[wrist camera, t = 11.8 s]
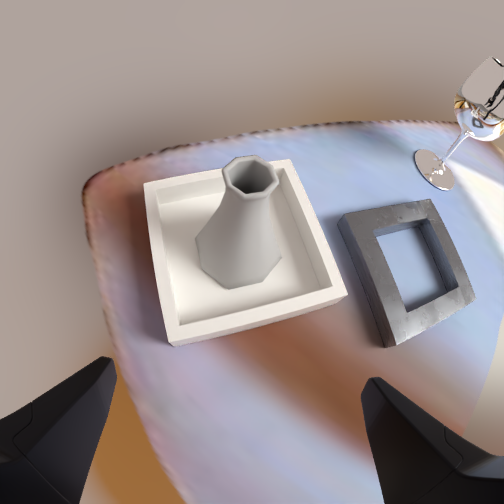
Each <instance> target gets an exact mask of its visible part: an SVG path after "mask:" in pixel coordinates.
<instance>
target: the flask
mask: <svg viewBox="0 0 504 504" xmlns="http://www.w3.org/2000/svg"><path fill="white" fill-rule="evenodd" d="M221 172H222V176H223V179H224V183H225V186H226V188H225V193H224V195H223V198H222V201H221V203H220V206H219V207H218V209H217V210H216V211H215V213H214V214H213V215H212V217H211V218H210V220H209V221H208V222H207V224H206V225H205V226H204V227H203V229H202V230H201V231H200V232H199V233H198V235H197V236H196V238H195V241H196V245H197V250H198V254H199V259H200V263H201V268H202V269H203V270H204V271H205V272H207V273H208V274H209V275H210V276H212V277H213V278H214V279H215V280H217V281H218V282H219V283H221V284H222V285H223V286H224V287H226V288H227V289H228V290H230V289H235V288H239V287H243V286H247V285H252V284H256V283H260V282H263V281H264V279H265V278H266V277H267V276H268V274H269V273H270V272H271V271H272V269H273V268H274V267H275V266H276V264H277V263H278V262H279V261H280V259H281V258H282V256H281V252H280V249H279V246H278V243H277V241H276V238H275V234H274V231H273V227H272V224H271V220H270V217H269V198H270V194H271V192H272V191H273V190H274V189H275V188H276V187H277V186H278V185H279V179H278V177H277V175H276V172H275V170H274V167H273V165H271V164H270V163H268V162H266V161H265V160H263V159H262V158H260V157H258V156H257V155H251V156H243V157H236V158H234V159H233V160H232V161H231V162H230V163H228V164H227V165H226V166H225V167H224V168H223V169H222V171H221Z"/></svg>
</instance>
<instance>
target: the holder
mask: <svg viewBox="0 0 504 504" xmlns="http://www.w3.org/2000/svg"><path fill="white" fill-rule="evenodd" d="M337 225H338V228H339V230H340V232H341V234H342V237H343V239H344V241H345V244H346V246H347V248H348V251H349V253H350V255H351V258H352V260H353V263H354V265H355V268H356V270H357V272H358V275H359V277H360V280H361V283H362V285H363V288H364V290H365V293H366V296H367V298H368V301H369V304H370V306H371V309H372V312H373V314H374V317H375V320H376V323H377V326H378V329H379V331H380V334H381V337H382V340H383V343H384V346H385V348H388V347H391V346H395V345H398V344H400V343H402V342H404V341H406V340H408V339H410V338H411V337H413V336H415V335H417V334H419V333H421V332H423V331H425V330H426V329H428V328H430V327H432V326H434V325H435V324H437V323H439V322H440V321H442V320H444V319H446V318H447V317H449V316H451V315H452V314H454V313H456V312H457V311H459V310H460V309H462V308H464V307H465V306H467V305H468V304H470V303H471V302H473V301H474V300H476V297H475V294H474V291H473V289H472V286H471V283H470V281H469V278H468V276H467V273H466V271H465V269H464V266H463V264H462V261H461V259H460V257H459V255H458V252H457V250H456V248H455V246H454V244H453V242H452V239H451V237H450V235H449V233H448V231H447V229H446V227H445V225H444V223H443V221H442V219H441V217H440V216H439V214H438V212H437V210H436V208H435V206H434V204H433V203H432V201H431V199H426V200H420V201H414V202H409V203H403V204H397V205H391V206H386V207H380V208H374V209H369V210H363V211H358V212H352V213H347V214H344V215H343V217H342V218H341V219H340V221H339V222H338V224H337ZM417 226H419V228H420V230H421V232H422V234H423V236H424V238H425V240H426V242H427V245H428V247H429V249H430V251H431V253H432V255H433V258H434V260H435V262H436V265H437V267H438V269H439V272H440V274H441V276H442V279H443V281H444V284H445V286H446V289H447V292H448V293H446V294H444V295H443V296H441V297H439V298H437V299H435V300H433V301H431V302H429V303H427V304H425V305H423V306H421V307H418V308H416V309H414V310H412V311H410V312H408V313H407V312H406V309H405V306H404V304H403V301H402V298H401V296H400V293H399V291H398V288H397V286H396V283H395V281H394V278H393V276H392V273H391V271H390V269H389V266H388V264H387V261H386V259H385V257H384V255H383V252H382V250H381V248H380V246H379V243H378V241H377V239H376V237H377V236H381V235H385V234H389V233H393V232H397V231H401V230H405V229H409V228H413V227H417Z"/></svg>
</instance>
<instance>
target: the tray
mask: <svg viewBox="0 0 504 504" xmlns="http://www.w3.org/2000/svg"><path fill="white" fill-rule="evenodd" d="M268 163H270V164H271V165H273V167H274V170H275V172H276V175H277V177H278V179H279V185H278V186H277V187H276V188H275V189H274V190H273V191H272V192H271V194H270V198H269V217H270V220H271V224H272V227H273V231H274V234H275V238H276V241H277V243H278V246H279V249H280V252H281V256H282V258H281V259H280V261H279V262H278V263H277V264H276V266H275V267H274V268H273V269H272V271H271V272H270V273H269V274H268V276H267V277H266V278H265V279H264V281H263V282H260V283H256V284H252V285H247V286H243V287H239V288H235V289H230V290H228V289H227V288H226V287H224V286H223V285H222V284H221V283H219V282H218V281H217V280H215V279H214V278H213V277H212V276H210V275H209V274H208V273H207V272H205V271H204V270H203V269H202V268H201V263H200V259H199V254H198V250H197V245H196V241H195V238H196V236H197V235H198V233H199V232H200V231H201V230H202V229H203V227H204V226H205V225H206V224H207V222H208V221H209V220H210V218H211V217H212V215H213V214H214V213H215V211H216V210H217V209H218V207H219V206H220V203H221V201H222V198H223V195H224V193H225V188H226V186H225V183H224V179H223V176H222V172H221V171H222V169H223V168H221V169H215V170H209V171H203V172H198V173H192V174H187V175H182V176H177V177H172V178H167V179H162V180H157V181H153V182H148V183H144V193H145V203H146V212H147V221H148V229H149V236H150V243H151V250H152V257H153V263H154V270H155V276H156V281H157V287H158V293H159V298H160V303H161V308H162V313H163V318H164V323H165V328H166V332H167V337H168V341H169V343H170V344H172V345H173V346H174V347H177V346H181V345H186V344H191V343H195V342H199V341H204V340H208V339H212V338H217V337H221V336H225V335H229V334H233V333H237V332H241V331H245V330H248V329H252V328H256V327H260V326H263V325H267V324H271V323H274V322H278V321H281V320H285V319H288V318H292V317H295V316H298V315H302V314H305V313H308V312H312V311H315V310H318V309H321V308H325V307H328V306H331V305H334V304H335V303H337V302H338V301H340V300H341V299H343V298H344V297H345V296H347V295H348V293H347V291H346V288H345V285H344V283H343V280H342V278H341V275H340V272H339V270H338V267H337V265H336V262H335V260H334V257H333V255H332V252H331V250H330V248H329V245H328V243H327V240H326V238H325V236H324V233H323V231H322V228H321V226H320V224H319V221H318V219H317V217H316V215H315V212H314V210H313V208H312V206H311V203H310V201H309V199H308V197H307V194H306V192H305V190H304V188H303V186H302V183H301V181H300V179H299V177H298V175H297V173H296V171H295V169H294V167H293V164H292V162H291V160H290V159H287V160H278V161H270V162H268Z"/></svg>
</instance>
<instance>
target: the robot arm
mask: <svg viewBox="0 0 504 504" xmlns="http://www.w3.org/2000/svg"><path fill="white" fill-rule="evenodd" d="M116 380H117V375H116V370H115V365H114V361H113V359H112V358H109V357H104V356H102V357H99V358H98V359H96V360H95V361H93V362H92V363H90V364H89V365H87V366H86V367H84V368H83V369H81V370H79V371H78V372H77V373H75V374H73V375H72V376H70V377H69V378H67V379H66V380H64V381H63V382H61V383H59V384H58V385H56V386H55V387H53V388H52V389H50V390H49V391H47V392H46V393H44V394H42V395H41V396H40V397H38V398H36V399H35V400H33V401H32V402H30V403H28V404H27V405H25V406H24V407H22V408H21V409H19V410H17V411H16V412H14V413H12V414H10V415H8V416H6V417H4V418H2V419H0V504H79V502H80V498H81V496H82V492H83V489H84V485H85V482H86V479H87V476H88V472H89V469H90V466H91V463H92V460H93V457H94V454H95V451H96V448H97V445H98V442H99V439H100V436H101V434H102V431H103V428H104V425H105V423H106V419H107V417H108V413H109V409H110V405H111V401H112V397H113V392H114V389H115V385H116ZM361 402H362V408H363V414H364V420H365V426H366V432H367V436H368V440H369V443H370V447H371V451H372V454H373V458H374V462H375V466H376V470H377V474H378V478H379V482H380V486H381V490H382V495H383V499H384V503H385V504H504V456H496V455H492V454H490V453H488V452H486V451H484V450H483V449H481V448H479V447H477V446H475V445H474V444H472V443H470V442H469V441H467V440H465V439H464V438H462V437H461V436H459V435H458V434H456V433H455V432H453V431H452V430H450V429H449V428H448V427H446V426H444V425H443V424H442V423H441V422H439V421H438V420H437V419H435V418H434V417H433V416H431V415H430V414H428V413H427V412H426V411H424V410H423V409H422V408H420V407H419V406H418V405H416V404H415V403H414V402H412V401H411V400H410V399H408V398H407V397H406V396H404V395H403V394H402V393H400V392H399V391H398V390H396V389H395V388H394V387H392V386H391V385H390V384H388V383H387V382H386V381H384V380H383V379H382V378H380V377H372V378H369V379H368V381H367V383H366V385H365V387H364V389H363V391H362V393H361Z"/></svg>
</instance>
